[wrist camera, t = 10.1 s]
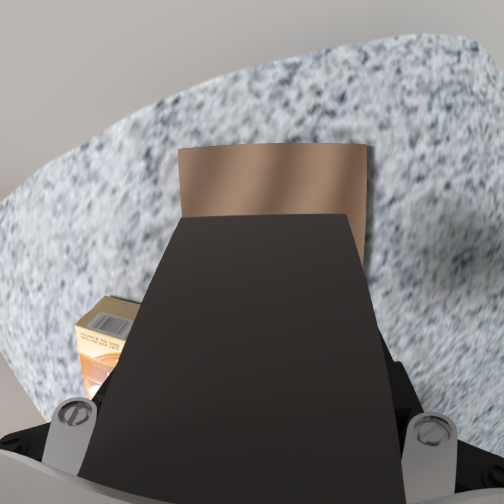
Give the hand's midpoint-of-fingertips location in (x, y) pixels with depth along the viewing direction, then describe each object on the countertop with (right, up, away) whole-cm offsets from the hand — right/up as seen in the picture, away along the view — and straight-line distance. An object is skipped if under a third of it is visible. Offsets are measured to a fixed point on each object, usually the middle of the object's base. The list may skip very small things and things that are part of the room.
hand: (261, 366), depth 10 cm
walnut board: (+2, +6, +18) cm, 19 cm away
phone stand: (0, +1, +3) cm, 3 cm away
